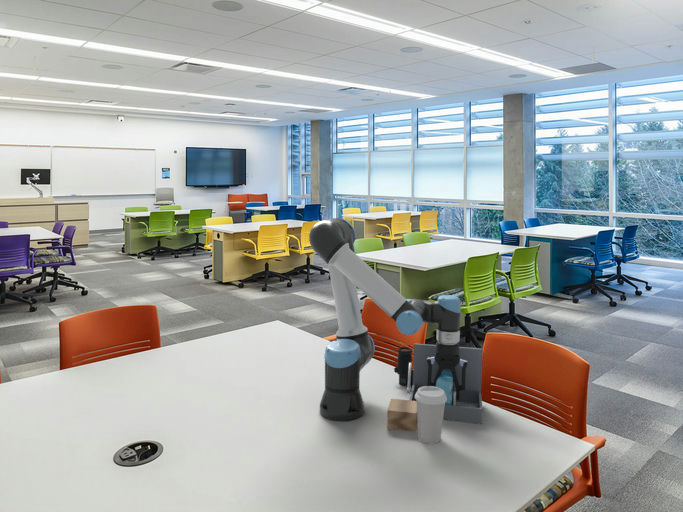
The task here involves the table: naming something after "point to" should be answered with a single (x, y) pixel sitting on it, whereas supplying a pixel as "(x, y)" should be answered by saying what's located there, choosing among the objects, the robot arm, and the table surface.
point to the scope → (404, 365)
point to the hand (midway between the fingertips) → (445, 407)
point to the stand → (402, 415)
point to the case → (471, 381)
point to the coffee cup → (430, 413)
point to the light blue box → (447, 386)
